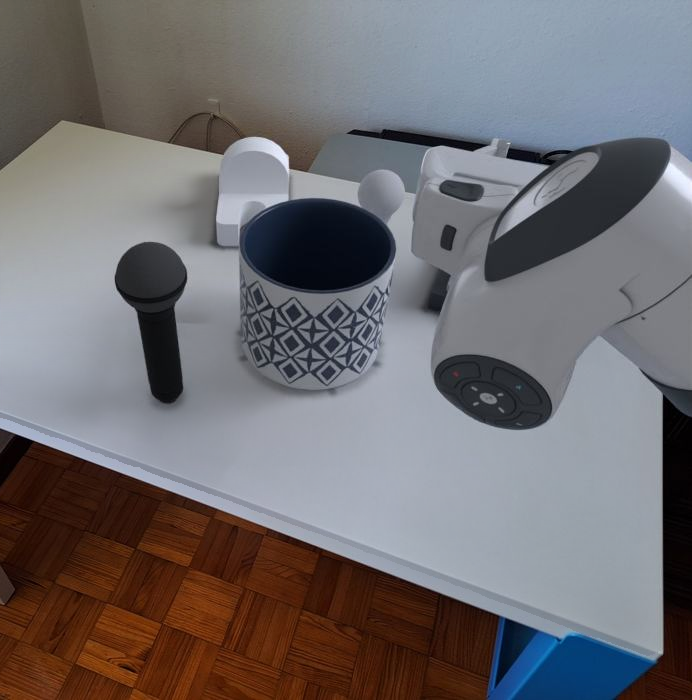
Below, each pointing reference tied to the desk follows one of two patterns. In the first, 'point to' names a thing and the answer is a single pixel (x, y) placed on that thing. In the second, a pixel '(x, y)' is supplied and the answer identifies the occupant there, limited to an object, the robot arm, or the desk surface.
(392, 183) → the light bulb
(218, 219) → the white u-slot block
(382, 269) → the planter
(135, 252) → the microphone
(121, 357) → the desk surface
